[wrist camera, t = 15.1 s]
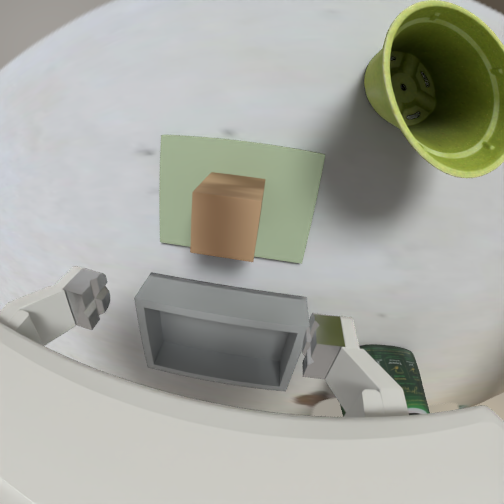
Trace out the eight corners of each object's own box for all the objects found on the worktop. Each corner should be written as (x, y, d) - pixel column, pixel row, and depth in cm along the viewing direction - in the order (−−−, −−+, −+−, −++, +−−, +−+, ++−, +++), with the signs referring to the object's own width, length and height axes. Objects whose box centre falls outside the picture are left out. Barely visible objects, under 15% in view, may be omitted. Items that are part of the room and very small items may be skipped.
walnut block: (265, 179, 20) (261, 201, 16) (258, 228, 22) (253, 262, 18) (211, 172, 20) (192, 191, 16) (207, 221, 22) (190, 252, 18)
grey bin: (306, 297, 26) (309, 327, 22) (285, 362, 30) (285, 391, 27) (151, 272, 26) (134, 298, 22) (159, 341, 30) (147, 367, 27)
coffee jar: (325, 379, 32) (333, 524, 15) (353, 336, 28) (382, 509, 11) (389, 384, 32) (413, 509, 16) (421, 345, 28) (466, 484, 12)
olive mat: (324, 154, 19) (325, 155, 19) (301, 260, 24) (301, 263, 23) (163, 134, 20) (161, 135, 19) (162, 239, 24) (160, 242, 24)
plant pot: (465, 125, 16) (536, 146, 9) (376, 167, 19) (429, 206, 12) (417, 20, 13) (479, -7, 5) (317, 55, 16) (343, 23, 8)
